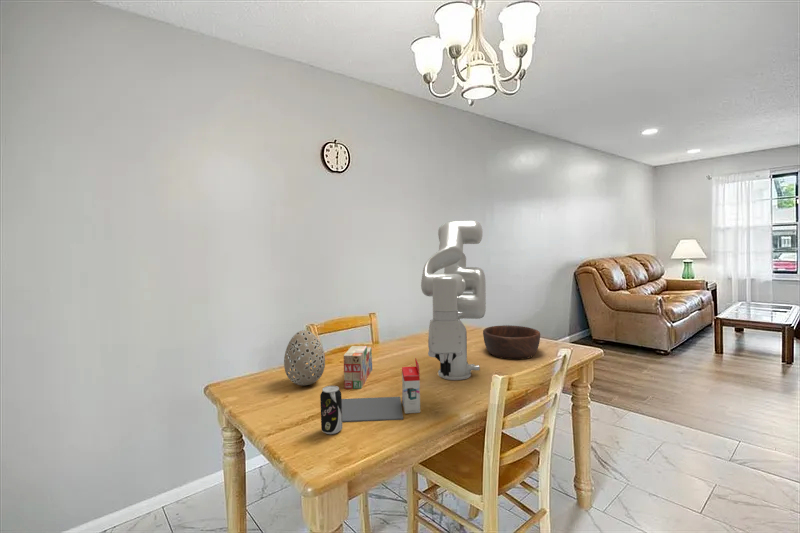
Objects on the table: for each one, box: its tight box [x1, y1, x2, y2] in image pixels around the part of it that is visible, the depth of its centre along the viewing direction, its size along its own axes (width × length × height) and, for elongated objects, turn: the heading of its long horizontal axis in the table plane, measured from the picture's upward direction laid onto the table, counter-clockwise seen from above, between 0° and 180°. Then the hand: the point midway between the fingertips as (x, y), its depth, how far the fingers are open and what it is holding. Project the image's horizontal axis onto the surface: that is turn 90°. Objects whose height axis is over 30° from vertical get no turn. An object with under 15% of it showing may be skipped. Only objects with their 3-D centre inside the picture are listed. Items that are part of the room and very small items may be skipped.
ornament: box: [283, 329, 326, 386], centre depth 145 cm, size 15×15×20 cm
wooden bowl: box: [482, 324, 541, 360], centre depth 179 cm, size 25×25×10 cm
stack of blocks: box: [343, 345, 373, 390], centre depth 150 cm, size 21×6×12 cm, turn 173°
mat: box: [342, 396, 404, 423], centre depth 123 cm, size 20×16×1 cm
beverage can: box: [319, 385, 343, 435], centre depth 109 cm, size 6×6×12 cm
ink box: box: [401, 357, 421, 414], centre depth 123 cm, size 8×5×15 cm, turn 5°
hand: (445, 374), depth 123 cm, fingers closed
